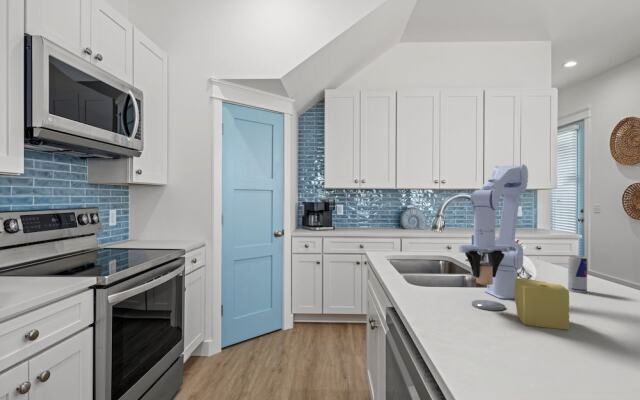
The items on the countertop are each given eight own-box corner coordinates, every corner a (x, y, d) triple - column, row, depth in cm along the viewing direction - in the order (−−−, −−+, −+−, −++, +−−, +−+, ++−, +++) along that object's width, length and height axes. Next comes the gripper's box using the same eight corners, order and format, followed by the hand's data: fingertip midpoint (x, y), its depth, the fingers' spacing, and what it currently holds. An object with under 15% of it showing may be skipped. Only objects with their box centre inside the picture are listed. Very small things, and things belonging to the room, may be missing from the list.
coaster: (466, 302, 109) (466, 300, 109) (493, 301, 110) (493, 299, 110) (481, 311, 100) (481, 309, 100) (511, 310, 101) (511, 308, 101)
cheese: (557, 317, 95) (557, 280, 95) (571, 331, 85) (571, 290, 85) (514, 313, 99) (514, 277, 99) (522, 326, 88) (522, 286, 88)
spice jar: (480, 284, 101) (480, 263, 101) (473, 281, 106) (473, 261, 106) (495, 284, 101) (495, 263, 101) (487, 281, 106) (487, 261, 106)
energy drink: (590, 293, 121) (590, 258, 121) (572, 292, 122) (572, 257, 122) (581, 289, 126) (582, 256, 126) (565, 288, 127) (565, 255, 127)
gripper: (467, 231, 99) (467, 280, 99) (516, 231, 100) (516, 279, 100) (455, 229, 106) (455, 274, 106) (501, 229, 107) (501, 274, 107)
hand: (484, 276), depth 104 cm, fingers closed on spice jar, 4 cm apart
